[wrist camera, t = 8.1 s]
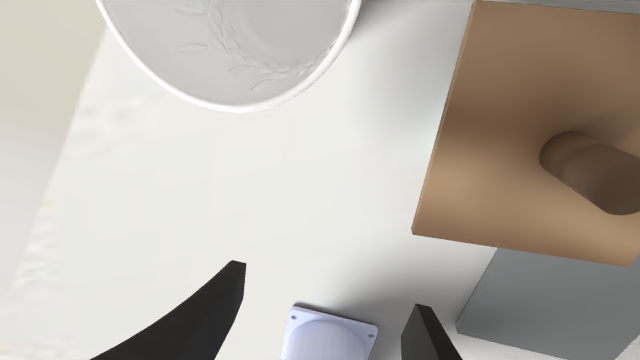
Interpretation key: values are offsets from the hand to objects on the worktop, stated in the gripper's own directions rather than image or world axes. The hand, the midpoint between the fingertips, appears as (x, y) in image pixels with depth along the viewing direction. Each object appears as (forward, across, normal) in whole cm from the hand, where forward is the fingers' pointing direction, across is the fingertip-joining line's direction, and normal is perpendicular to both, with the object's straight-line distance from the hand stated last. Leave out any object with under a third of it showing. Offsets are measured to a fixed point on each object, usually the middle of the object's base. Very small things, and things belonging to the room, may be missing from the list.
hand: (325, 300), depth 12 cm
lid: (+7, -10, -7) cm, 14 cm away
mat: (+10, -18, +4) cm, 21 cm away
